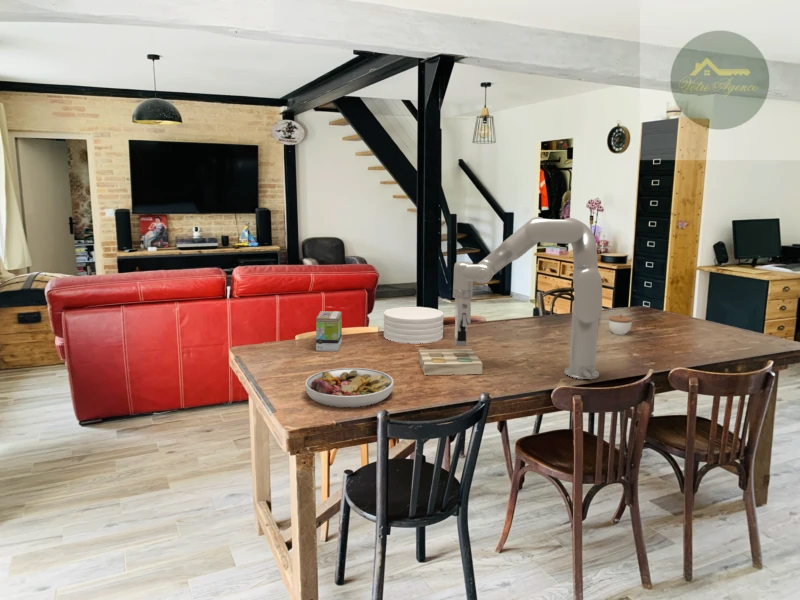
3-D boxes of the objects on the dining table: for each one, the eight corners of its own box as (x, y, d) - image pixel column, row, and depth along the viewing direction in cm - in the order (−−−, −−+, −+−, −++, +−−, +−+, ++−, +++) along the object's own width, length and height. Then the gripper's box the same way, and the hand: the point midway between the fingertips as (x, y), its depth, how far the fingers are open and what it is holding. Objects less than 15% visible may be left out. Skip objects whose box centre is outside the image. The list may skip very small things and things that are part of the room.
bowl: (348, 375, 226) (348, 355, 225) (411, 393, 208) (411, 371, 206) (287, 396, 203) (286, 374, 202) (350, 418, 185) (350, 394, 183)
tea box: (339, 351, 257) (338, 317, 254) (315, 351, 257) (315, 317, 254) (342, 342, 272) (341, 310, 269) (320, 342, 272) (319, 310, 269)
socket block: (482, 374, 227) (482, 362, 226) (424, 375, 225) (424, 363, 224) (471, 359, 247) (472, 348, 246) (418, 360, 245) (418, 348, 244)
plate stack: (453, 334, 288) (454, 311, 286) (423, 347, 265) (423, 322, 263) (404, 326, 303) (404, 304, 301) (371, 338, 280) (372, 314, 278)
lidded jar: (628, 337, 285) (630, 318, 283) (605, 334, 291) (606, 315, 289) (632, 332, 294) (634, 314, 292) (610, 329, 300) (611, 311, 298)
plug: (466, 345, 235) (467, 321, 233) (456, 345, 235) (457, 321, 233) (464, 343, 239) (465, 318, 237) (454, 343, 238) (455, 318, 237)
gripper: (476, 297, 225) (474, 345, 228) (468, 289, 241) (466, 334, 245) (456, 297, 224) (454, 345, 228) (449, 289, 241) (447, 333, 244)
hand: (460, 338), depth 236 cm, fingers closed on plug, 4 cm apart
